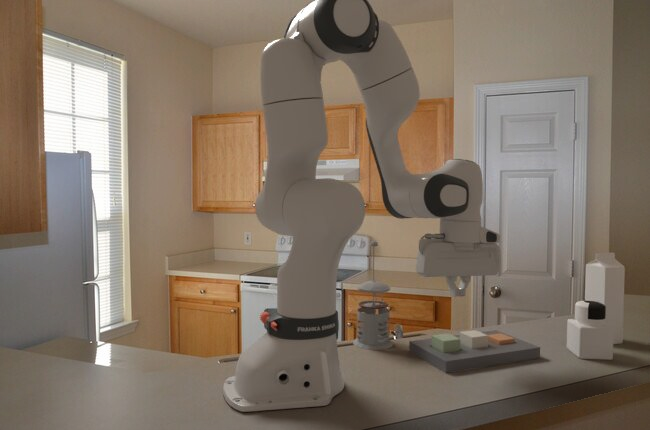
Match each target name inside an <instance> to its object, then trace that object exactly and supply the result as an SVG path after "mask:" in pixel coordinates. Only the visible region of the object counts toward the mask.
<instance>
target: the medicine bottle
mask: <svg viewBox="0 0 650 430" xmlns="http://www.w3.org/2000/svg"><path fill="white" fill-rule="evenodd" d="M605 316H606V307H605V305H603V304H602V303H599V302H595V301H585V300H579V301H577V302H576V303H575V305H574V318H568V319H567V324H566V325H567V326H566V327H567V328H566V349H567V350H569V351H570V353H572V354H573V355H574V356H576V357H577V358H578V359H581V360H583V359H584V360H603V361H604V360H605V361H607V360H608V361H612V360H613V358H614V344H613V336H614V329H613V328H612V327H610V326H608V325H606V324H605V323H604V322H605Z"/></svg>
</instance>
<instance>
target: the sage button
mask: <svg viewBox="0 0 650 430" xmlns="http://www.w3.org/2000/svg"><path fill="white" fill-rule="evenodd" d="M431 338H432V348H434V349H436V350H438V351H440V352H442V353H447V352H454V351H460V339H459V338H457V337H455V335H453V334H450V333H440V334H434V335H433V334H432V335H431Z"/></svg>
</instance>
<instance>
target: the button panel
mask: <svg viewBox="0 0 650 430" xmlns="http://www.w3.org/2000/svg"><path fill="white" fill-rule="evenodd" d="M480 332H481V333H483V334H486V335H492V334H499V333H501V334H504V335H507V336H509V337H512V338H514V343H511V344H504V345H497V344H495V343H493V342H490V341H488V347H483V348H476V349H470V348H468V347H466V346H464V345H462V344H460V351H454V352H447V353H442V352H440V351H438V350H436V349H434V348H432V337H431V338H426V339H425V338H424V339H417V340H416V339H415V340H410V341H409V343H408V347H409V348H408V352H410V353H411V354H413V355H415V356H417V358H420V359H422V360H423V361H424V360H425V362H426V361H427V362H426V363H428V364H430V365H431V366H433V367H435V368H436V367H437V368H436V369H438V370H439V371H441V370H442V372H443V373H445V374H447V373H452V372H453V373H454V372H461V371H467V370H472V369H479V368H484V367H485V368H486V367H491V366H492V367H493V366H497V365H504V364H510V363H516V362H523V361H530V360H535V359H540V358H541V347H540V346H538V345H535V344H533V343H529V342H527V341H525V340H522V339H520V338H517V337H514V336H512V335H510V334H507V333H504V332H502V331H499V330H488V331H480ZM454 336H455V337H457V338H459V337H460V334H456V335H455V334H454Z"/></svg>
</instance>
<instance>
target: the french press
mask: <svg viewBox="0 0 650 430" xmlns="http://www.w3.org/2000/svg"><path fill="white" fill-rule="evenodd" d="M378 245H379V244H378V242H377V240H373V241H371V242H370V243H369V246H370V247H373V248H372V249H373V250H372V251H373V252H372V255H373V257H372V262H373V263H372V280H368V281H365V282H362V283H360V284H359V285H357V287H356V289H357V290H359V291H360V292H364V293H370V294H371V293H372V300H363V301H362V300H361V301H360V302H359V303H358V306H359V308H357V315H356V316H357V318H356V321H357V323H356V324H357V325H356V326H357V329H356V331H357V333H356V338H355V339H354V340H353V342H352V344H353V345H354V346H355V347H356V348H360V349H362V350H363V349H364V350H368V351H370V350H371V351H380V350H387V349H390V348H392V347H393V346H394V342H393V341H392V340H391V339H390V309H388V308H387V307H389V304H388V303H387V302H385V301H383V300H384V296H383V293H387V292H390V291H391V287H390V286H389V285H388V284H386V283H384V282H381V281H379V280H375V247H378ZM378 293H379V294H378ZM380 296H381V300H379V301H378V300H377V297H380ZM377 311H378V312H377Z"/></svg>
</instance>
